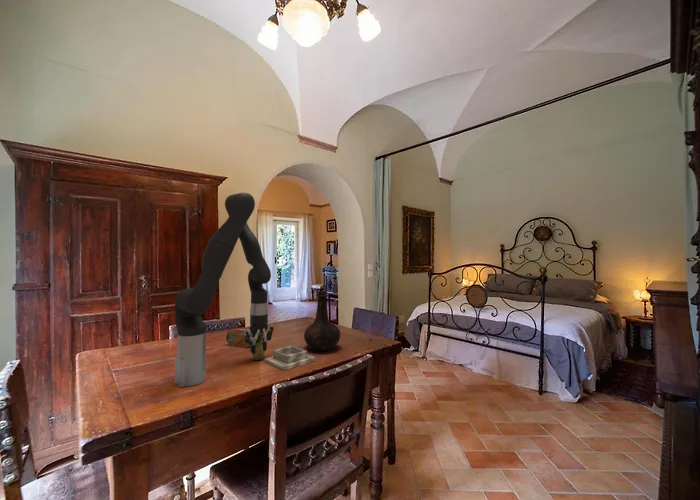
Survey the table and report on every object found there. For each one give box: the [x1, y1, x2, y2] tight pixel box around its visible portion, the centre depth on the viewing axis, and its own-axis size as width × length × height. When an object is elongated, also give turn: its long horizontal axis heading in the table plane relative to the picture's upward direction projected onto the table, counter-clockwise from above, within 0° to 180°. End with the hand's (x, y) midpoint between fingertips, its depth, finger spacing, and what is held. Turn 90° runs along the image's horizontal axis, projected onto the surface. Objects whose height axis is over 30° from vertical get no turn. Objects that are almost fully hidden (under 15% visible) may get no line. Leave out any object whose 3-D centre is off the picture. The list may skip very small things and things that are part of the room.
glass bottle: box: [303, 290, 341, 352], centre depth 150 cm, size 18×18×28 cm
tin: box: [225, 328, 252, 348], centre depth 153 cm, size 15×3×8 cm, turn 73°
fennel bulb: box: [252, 332, 265, 361], centre depth 134 cm, size 6×5×12 cm
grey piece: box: [264, 345, 316, 371], centre depth 131 cm, size 16×14×4 cm
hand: (258, 352), depth 134 cm, fingers closed on fennel bulb, 4 cm apart
